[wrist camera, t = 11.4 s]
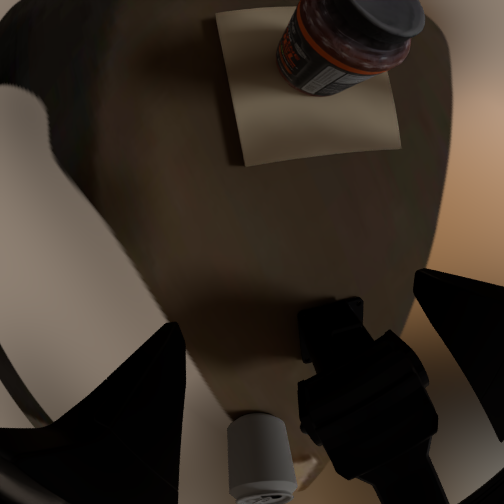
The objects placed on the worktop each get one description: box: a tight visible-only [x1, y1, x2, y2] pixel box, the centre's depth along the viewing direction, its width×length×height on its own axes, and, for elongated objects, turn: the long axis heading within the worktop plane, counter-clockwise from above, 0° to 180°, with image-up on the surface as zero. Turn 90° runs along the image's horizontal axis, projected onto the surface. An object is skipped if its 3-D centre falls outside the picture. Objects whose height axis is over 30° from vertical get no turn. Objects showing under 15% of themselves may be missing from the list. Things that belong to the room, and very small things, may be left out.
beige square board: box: [215, 7, 401, 167], centre depth 17 cm, size 13×13×1 cm
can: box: [227, 413, 297, 504], centre depth 25 cm, size 8×8×12 cm
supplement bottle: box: [276, 0, 425, 97], centre depth 11 cm, size 6×6×11 cm
